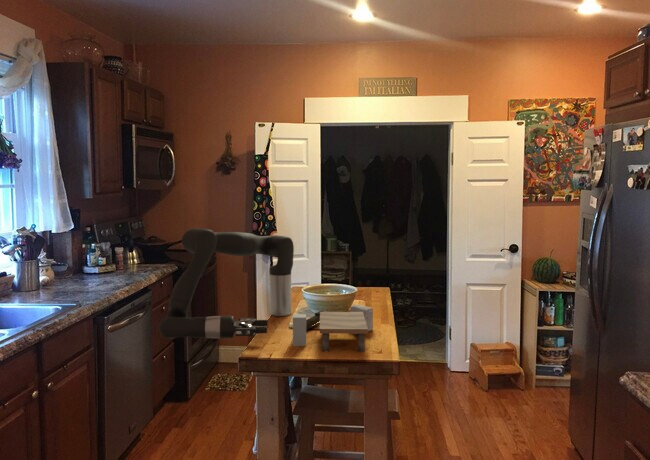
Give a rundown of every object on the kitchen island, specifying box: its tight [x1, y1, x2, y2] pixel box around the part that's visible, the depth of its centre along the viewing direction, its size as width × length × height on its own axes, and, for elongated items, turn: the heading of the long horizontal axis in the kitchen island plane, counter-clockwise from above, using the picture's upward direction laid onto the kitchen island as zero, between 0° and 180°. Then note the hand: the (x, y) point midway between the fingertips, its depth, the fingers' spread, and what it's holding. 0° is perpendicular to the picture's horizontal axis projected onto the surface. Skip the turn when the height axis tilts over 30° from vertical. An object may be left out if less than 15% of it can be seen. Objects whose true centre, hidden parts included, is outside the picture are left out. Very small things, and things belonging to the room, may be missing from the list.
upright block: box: [292, 313, 307, 347], centre depth 182 cm, size 4×4×10 cm
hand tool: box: [306, 310, 325, 332], centre depth 204 cm, size 19×4×5 cm, turn 150°
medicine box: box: [350, 304, 374, 332], centre depth 200 cm, size 8×4×9 cm, turn 43°
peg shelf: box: [319, 311, 369, 353], centre depth 184 cm, size 22×16×8 cm
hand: (267, 326), depth 181 cm, fingers open, 8 cm apart
